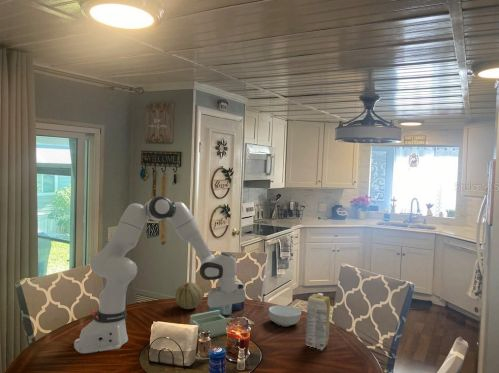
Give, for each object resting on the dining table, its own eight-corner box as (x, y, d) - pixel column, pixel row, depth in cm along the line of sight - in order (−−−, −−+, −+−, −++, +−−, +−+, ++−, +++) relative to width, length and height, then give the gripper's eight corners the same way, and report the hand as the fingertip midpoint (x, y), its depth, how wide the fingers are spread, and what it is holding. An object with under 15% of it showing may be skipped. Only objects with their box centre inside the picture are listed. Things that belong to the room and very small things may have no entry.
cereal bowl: (306, 328, 202) (307, 314, 201) (276, 331, 196) (277, 317, 195) (290, 316, 217) (291, 303, 217) (263, 319, 211) (263, 306, 211)
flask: (227, 309, 224) (228, 290, 223) (227, 307, 226) (228, 289, 226) (243, 310, 224) (244, 291, 223) (243, 308, 227) (244, 289, 226)
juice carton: (329, 345, 182) (331, 294, 181) (323, 352, 175) (326, 298, 174) (310, 340, 187) (312, 290, 186) (303, 346, 180) (306, 294, 179)
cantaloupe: (202, 304, 231) (203, 278, 230) (201, 313, 216) (201, 286, 215) (176, 303, 230) (177, 278, 229) (173, 312, 215) (174, 285, 214)
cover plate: (229, 331, 194) (229, 324, 194) (219, 325, 202) (220, 318, 202) (254, 325, 203) (254, 318, 203) (244, 319, 211) (244, 312, 210)
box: (202, 339, 183) (202, 324, 183) (189, 329, 194) (190, 315, 194) (231, 332, 192) (232, 318, 192) (218, 323, 203) (218, 309, 203)
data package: (231, 312, 219) (232, 290, 219) (231, 315, 215) (232, 293, 214) (209, 311, 219) (210, 290, 219) (209, 314, 215) (209, 292, 214)
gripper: (211, 290, 189) (210, 319, 189) (247, 284, 200) (246, 311, 201) (205, 287, 194) (204, 314, 194) (240, 281, 205) (239, 307, 206)
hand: (226, 313), depth 198 cm, fingers closed
